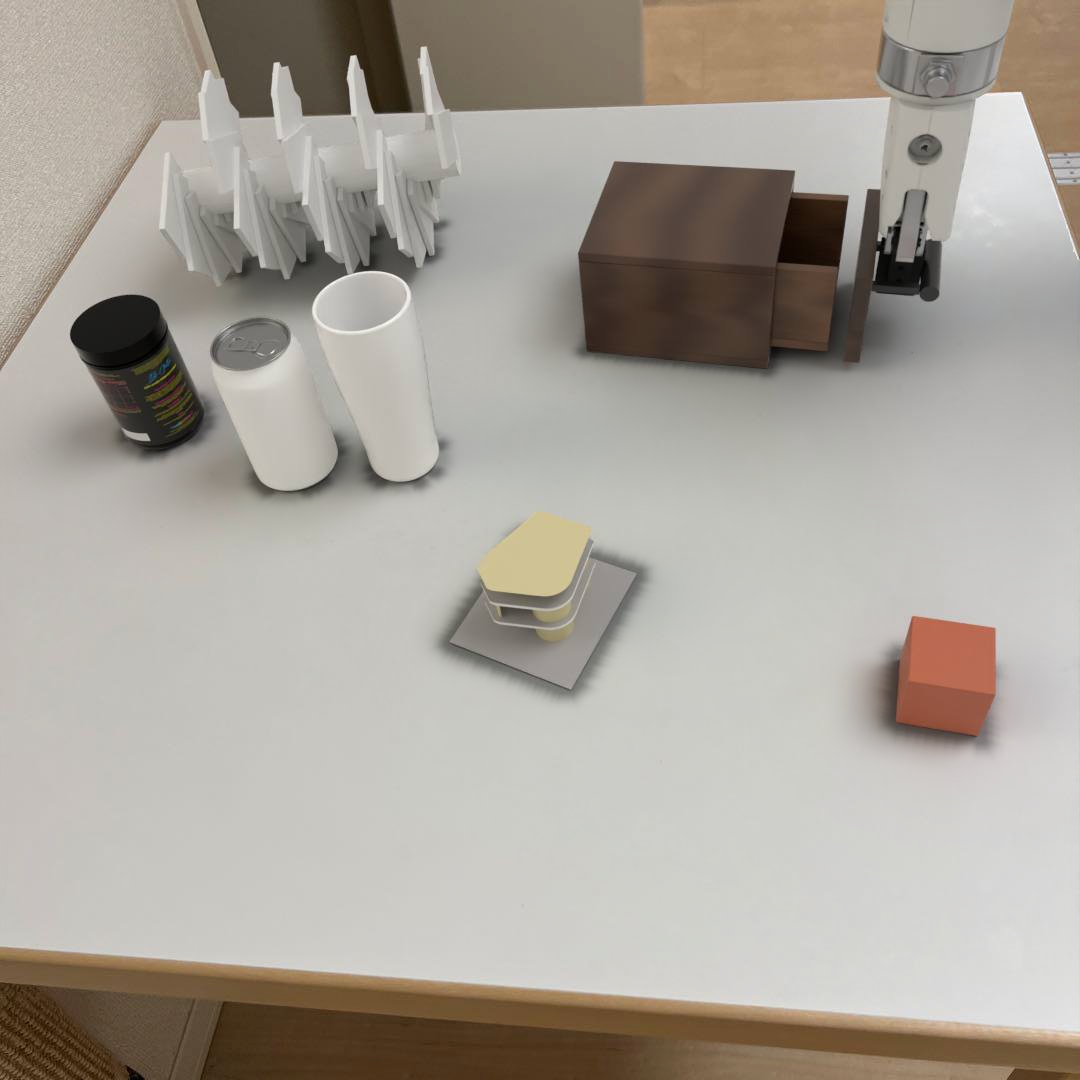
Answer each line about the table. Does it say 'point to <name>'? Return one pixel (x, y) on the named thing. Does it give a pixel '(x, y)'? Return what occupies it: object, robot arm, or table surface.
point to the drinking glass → (380, 369)
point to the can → (273, 403)
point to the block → (947, 675)
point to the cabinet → (684, 262)
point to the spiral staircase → (306, 183)
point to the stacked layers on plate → (543, 600)
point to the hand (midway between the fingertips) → (895, 287)
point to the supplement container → (139, 370)
